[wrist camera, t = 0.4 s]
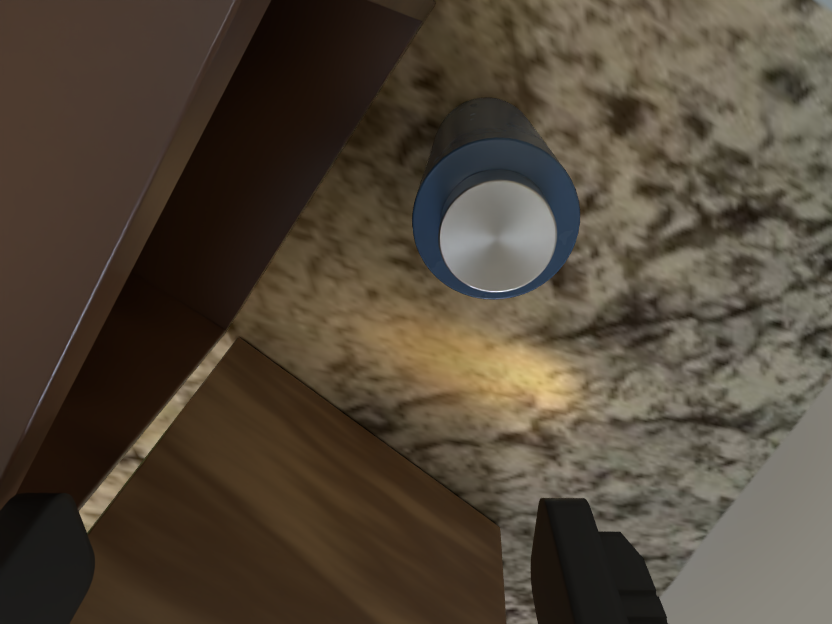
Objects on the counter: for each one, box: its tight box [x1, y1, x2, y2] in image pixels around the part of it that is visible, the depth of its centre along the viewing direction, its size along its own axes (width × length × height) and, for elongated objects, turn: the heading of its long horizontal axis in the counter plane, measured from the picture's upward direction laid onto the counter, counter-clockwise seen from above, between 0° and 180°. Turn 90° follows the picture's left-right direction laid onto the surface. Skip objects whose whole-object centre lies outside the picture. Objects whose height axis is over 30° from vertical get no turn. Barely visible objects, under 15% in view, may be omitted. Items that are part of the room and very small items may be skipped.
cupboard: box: [0, 0, 435, 511], centre depth 19 cm, size 16×22×24 cm
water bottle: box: [412, 98, 580, 300], centre depth 23 cm, size 5×5×14 cm
